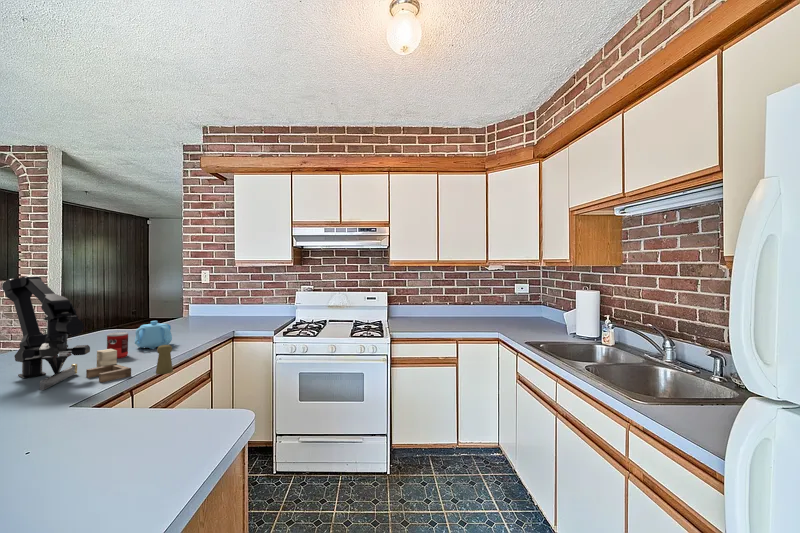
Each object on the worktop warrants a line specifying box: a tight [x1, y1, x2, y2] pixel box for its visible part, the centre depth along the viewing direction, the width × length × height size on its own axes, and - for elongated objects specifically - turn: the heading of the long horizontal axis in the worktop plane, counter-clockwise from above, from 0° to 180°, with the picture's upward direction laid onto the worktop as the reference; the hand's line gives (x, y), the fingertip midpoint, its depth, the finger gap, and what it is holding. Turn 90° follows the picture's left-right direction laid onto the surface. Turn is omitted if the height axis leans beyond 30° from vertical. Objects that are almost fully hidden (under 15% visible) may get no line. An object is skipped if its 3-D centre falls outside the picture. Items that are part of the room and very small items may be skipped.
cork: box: [155, 344, 174, 375], centre depth 159 cm, size 6×6×11 cm
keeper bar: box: [39, 363, 78, 391], centre depth 143 cm, size 21×2×4 cm, turn 15°
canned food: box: [106, 331, 129, 359], centre depth 181 cm, size 8×8×11 cm
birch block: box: [96, 348, 118, 367], centre depth 160 cm, size 5×5×8 cm
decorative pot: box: [134, 320, 173, 350], centre depth 204 cm, size 16×16×14 cm
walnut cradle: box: [85, 363, 132, 383], centre depth 151 cm, size 12×10×3 cm
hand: (56, 374), depth 146 cm, fingers closed
